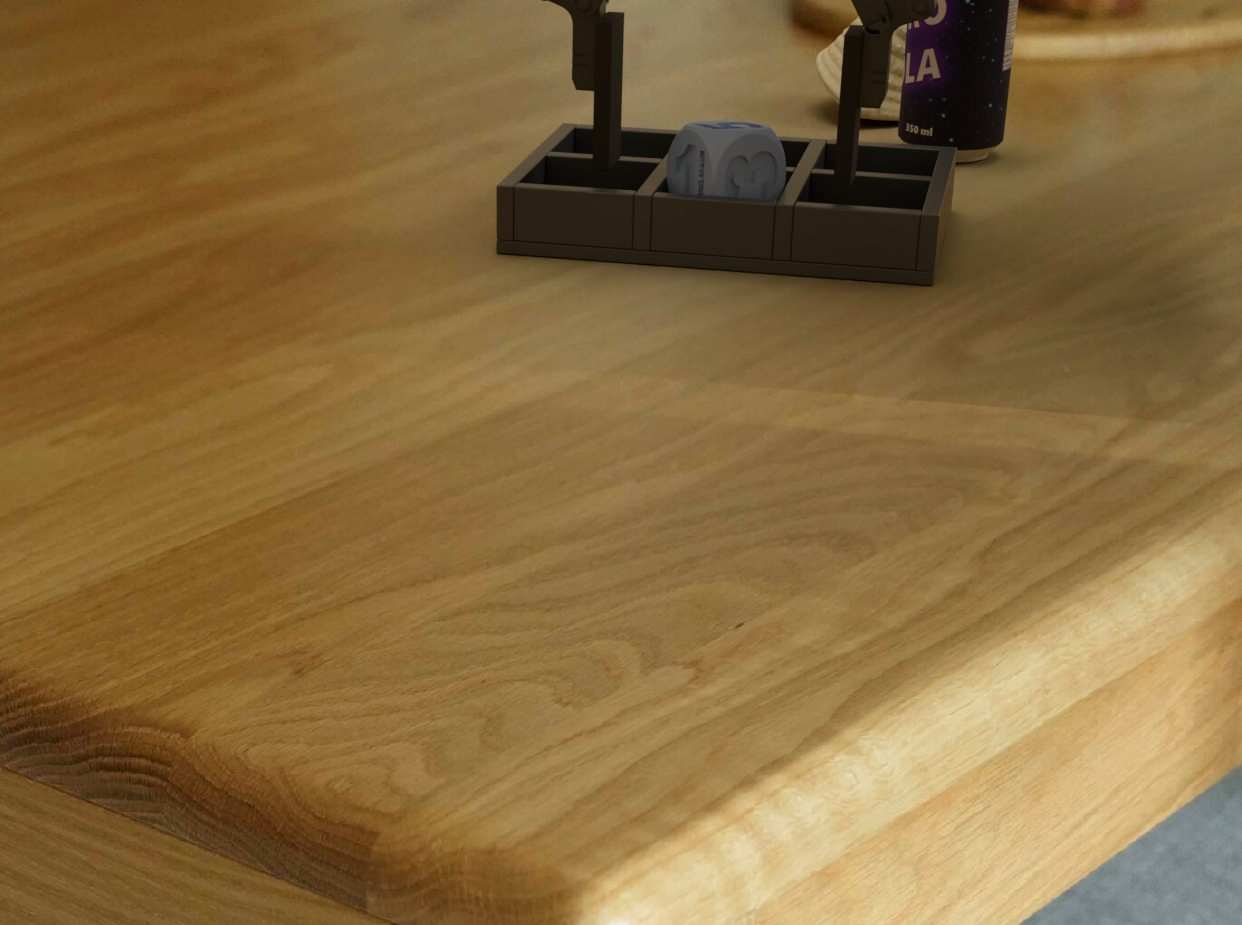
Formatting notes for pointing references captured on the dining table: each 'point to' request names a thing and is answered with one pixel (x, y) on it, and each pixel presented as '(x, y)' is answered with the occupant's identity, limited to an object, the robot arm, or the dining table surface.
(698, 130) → the decorative dice
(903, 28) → the seashell
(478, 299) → the dining table surface
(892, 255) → the grid
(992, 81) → the beverage can
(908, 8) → the robot arm
